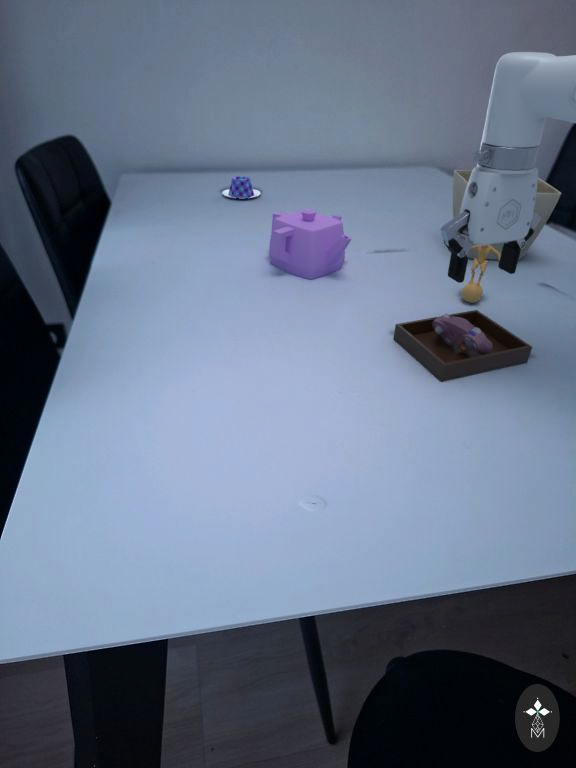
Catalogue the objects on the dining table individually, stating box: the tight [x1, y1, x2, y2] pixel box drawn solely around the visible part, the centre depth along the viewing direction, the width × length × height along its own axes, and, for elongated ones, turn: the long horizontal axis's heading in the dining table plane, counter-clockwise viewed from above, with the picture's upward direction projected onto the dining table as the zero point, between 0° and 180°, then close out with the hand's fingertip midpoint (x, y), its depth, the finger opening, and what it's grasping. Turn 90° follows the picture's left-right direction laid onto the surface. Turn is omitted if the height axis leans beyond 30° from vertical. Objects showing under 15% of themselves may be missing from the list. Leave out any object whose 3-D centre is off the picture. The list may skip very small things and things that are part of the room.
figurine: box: [461, 244, 503, 304], centre depth 104 cm, size 8×6×12 cm
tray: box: [393, 309, 533, 382], centre depth 90 cm, size 17×14×3 cm
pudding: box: [221, 175, 261, 200], centre depth 166 cm, size 12×12×5 cm
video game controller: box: [432, 313, 493, 355], centre depth 89 cm, size 10×5×7 cm, turn 38°
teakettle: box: [268, 208, 352, 280], centre depth 117 cm, size 17×17×12 cm
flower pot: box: [452, 169, 562, 261], centre depth 127 cm, size 19×19×17 cm
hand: (481, 275), depth 83 cm, fingers open, 9 cm apart
